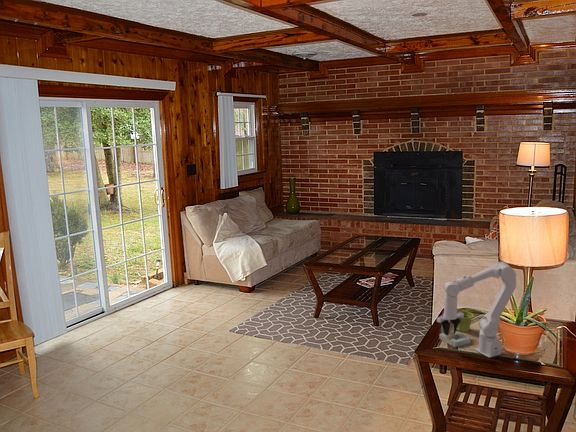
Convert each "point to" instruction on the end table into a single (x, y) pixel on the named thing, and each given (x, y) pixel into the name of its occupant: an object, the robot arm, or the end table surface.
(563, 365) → the end table surface
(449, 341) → the socket board
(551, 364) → the end table surface
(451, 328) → the peg
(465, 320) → the plant pot
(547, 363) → the end table surface
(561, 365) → the end table surface
